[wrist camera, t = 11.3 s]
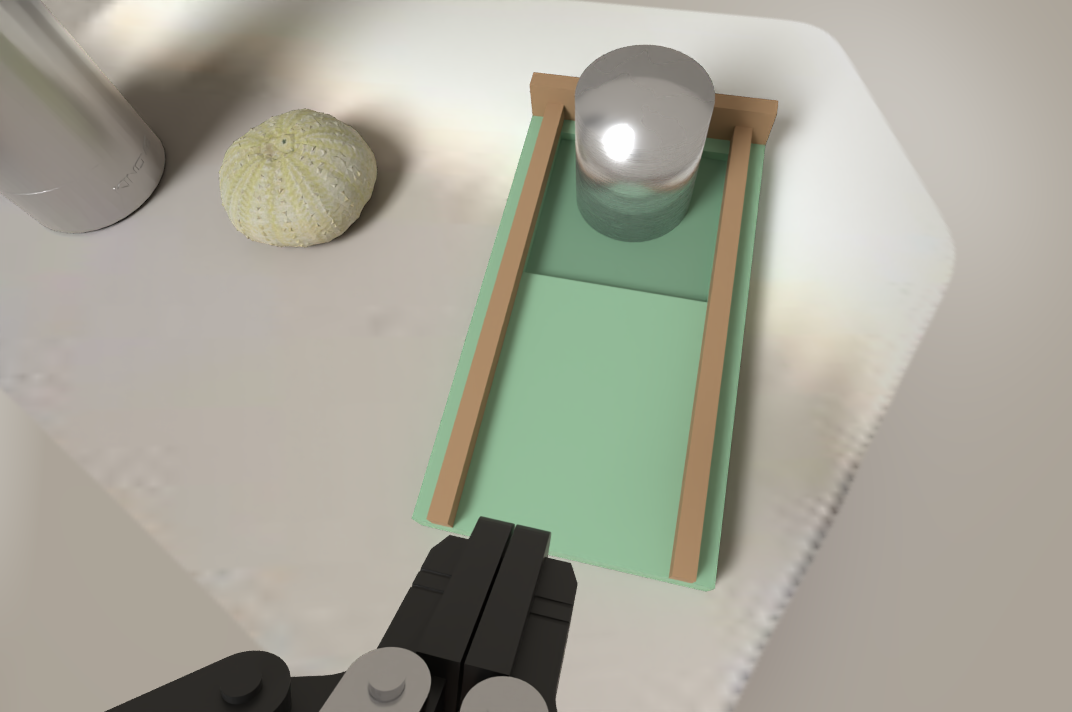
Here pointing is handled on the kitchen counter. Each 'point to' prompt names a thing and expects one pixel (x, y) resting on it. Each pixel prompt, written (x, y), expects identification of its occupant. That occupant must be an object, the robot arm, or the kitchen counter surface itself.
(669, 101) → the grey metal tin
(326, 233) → the sea urchin shell
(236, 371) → the kitchen counter surface
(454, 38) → the kitchen counter surface
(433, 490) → the green railed board
